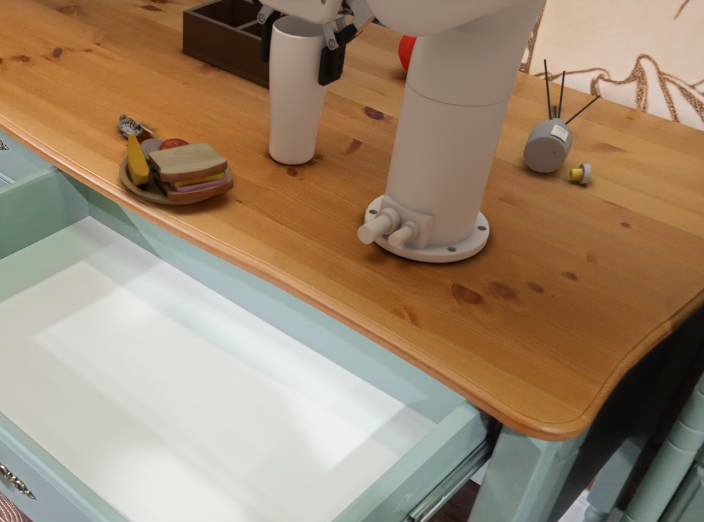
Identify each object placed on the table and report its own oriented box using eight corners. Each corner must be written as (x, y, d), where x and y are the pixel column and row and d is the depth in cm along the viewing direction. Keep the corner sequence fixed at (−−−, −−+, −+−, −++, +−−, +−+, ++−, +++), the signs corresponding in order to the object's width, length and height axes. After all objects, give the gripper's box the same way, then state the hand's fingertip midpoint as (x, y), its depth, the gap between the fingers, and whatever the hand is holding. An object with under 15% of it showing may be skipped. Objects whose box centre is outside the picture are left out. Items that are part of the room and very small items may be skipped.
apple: (412, 60, 120) (422, 6, 115) (463, 76, 117) (476, 20, 112) (382, 78, 116) (392, 22, 111) (434, 95, 112) (446, 38, 107)
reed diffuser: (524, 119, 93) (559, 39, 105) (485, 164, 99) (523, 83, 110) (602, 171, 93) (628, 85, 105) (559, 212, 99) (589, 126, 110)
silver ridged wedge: (134, 142, 101) (152, 153, 103) (144, 124, 100) (162, 136, 102) (112, 129, 105) (130, 140, 107) (121, 112, 105) (139, 124, 107)
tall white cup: (278, 174, 97) (290, 41, 86) (252, 147, 101) (261, 18, 91) (330, 163, 99) (348, 32, 88) (303, 138, 103) (317, 10, 93)
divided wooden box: (284, 95, 112) (288, 51, 108) (182, 52, 122) (182, 10, 118) (333, 73, 117) (338, 30, 113) (231, 34, 127) (232, -7, 123)
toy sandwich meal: (217, 146, 101) (218, 109, 97) (245, 209, 91) (248, 169, 88) (112, 156, 99) (110, 118, 96) (130, 220, 90) (128, 180, 86)
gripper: (224, -123, 83) (218, 56, 96) (368, -86, 74) (341, 106, 87) (275, -135, 87) (263, 38, 99) (417, -102, 78) (385, 85, 90)
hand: (299, 69), depth 93 cm, fingers open, 7 cm apart
